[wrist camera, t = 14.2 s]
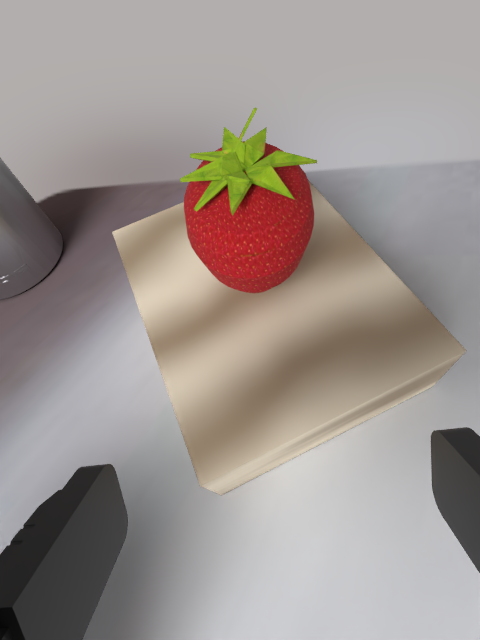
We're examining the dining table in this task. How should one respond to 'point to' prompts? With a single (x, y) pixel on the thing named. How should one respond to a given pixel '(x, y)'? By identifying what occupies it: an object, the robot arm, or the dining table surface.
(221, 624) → the dining table surface
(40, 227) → the robot arm
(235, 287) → the strawberry
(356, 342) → the birch stand
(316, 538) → the dining table surface
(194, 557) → the dining table surface
